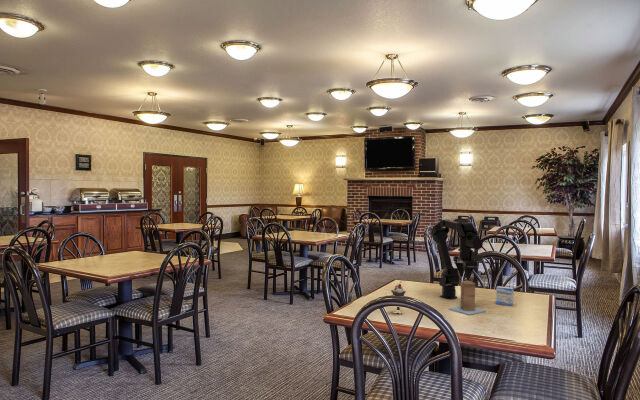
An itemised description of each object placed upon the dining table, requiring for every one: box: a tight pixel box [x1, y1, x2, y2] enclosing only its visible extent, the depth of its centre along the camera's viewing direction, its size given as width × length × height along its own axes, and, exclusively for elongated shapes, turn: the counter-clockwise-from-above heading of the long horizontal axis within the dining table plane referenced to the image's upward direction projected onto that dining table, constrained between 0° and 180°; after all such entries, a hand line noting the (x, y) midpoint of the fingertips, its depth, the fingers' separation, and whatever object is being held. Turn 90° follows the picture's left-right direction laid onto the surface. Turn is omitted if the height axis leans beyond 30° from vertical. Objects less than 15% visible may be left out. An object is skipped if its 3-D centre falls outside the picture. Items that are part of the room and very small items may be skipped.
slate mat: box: [448, 305, 487, 316], centre depth 219 cm, size 12×12×1 cm
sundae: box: [390, 281, 406, 311], centre depth 214 cm, size 7×7×15 cm
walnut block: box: [460, 280, 476, 311], centre depth 219 cm, size 5×5×13 cm
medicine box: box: [495, 285, 515, 307], centre depth 233 cm, size 8×4×9 cm, turn 62°
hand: (464, 278), depth 233 cm, fingers open, 9 cm apart
